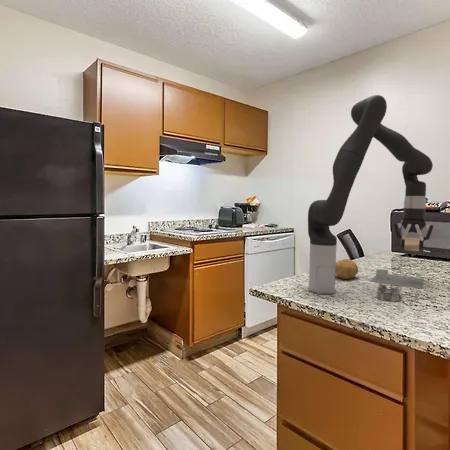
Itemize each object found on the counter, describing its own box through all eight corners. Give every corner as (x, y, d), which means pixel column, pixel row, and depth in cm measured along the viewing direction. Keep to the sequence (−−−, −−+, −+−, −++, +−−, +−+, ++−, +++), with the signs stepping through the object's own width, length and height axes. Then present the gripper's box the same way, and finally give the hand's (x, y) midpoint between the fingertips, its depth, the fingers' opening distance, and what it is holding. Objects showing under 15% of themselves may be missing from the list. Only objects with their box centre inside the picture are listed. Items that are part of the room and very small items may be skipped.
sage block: (386, 279, 129) (386, 270, 129) (376, 278, 131) (376, 268, 131) (387, 277, 132) (388, 268, 132) (377, 276, 135) (378, 267, 134)
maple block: (418, 251, 122) (419, 238, 121) (404, 250, 124) (404, 237, 124) (419, 250, 126) (420, 237, 125) (405, 248, 129) (406, 236, 128)
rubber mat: (421, 290, 115) (421, 288, 115) (369, 282, 126) (369, 281, 126) (424, 279, 132) (424, 278, 132) (378, 273, 142) (378, 272, 142)
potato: (328, 280, 129) (329, 261, 128) (337, 274, 140) (338, 257, 140) (352, 284, 123) (353, 264, 123) (360, 277, 135) (361, 259, 134)
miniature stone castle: (378, 292, 112) (379, 281, 112) (401, 296, 108) (402, 285, 108) (374, 299, 104) (375, 287, 104) (399, 303, 100) (399, 291, 99)
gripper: (393, 207, 125) (390, 248, 126) (435, 207, 117) (432, 252, 118) (395, 207, 131) (393, 246, 132) (436, 207, 123) (433, 250, 124)
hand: (412, 249), depth 125 cm, fingers closed on maple block, 5 cm apart
